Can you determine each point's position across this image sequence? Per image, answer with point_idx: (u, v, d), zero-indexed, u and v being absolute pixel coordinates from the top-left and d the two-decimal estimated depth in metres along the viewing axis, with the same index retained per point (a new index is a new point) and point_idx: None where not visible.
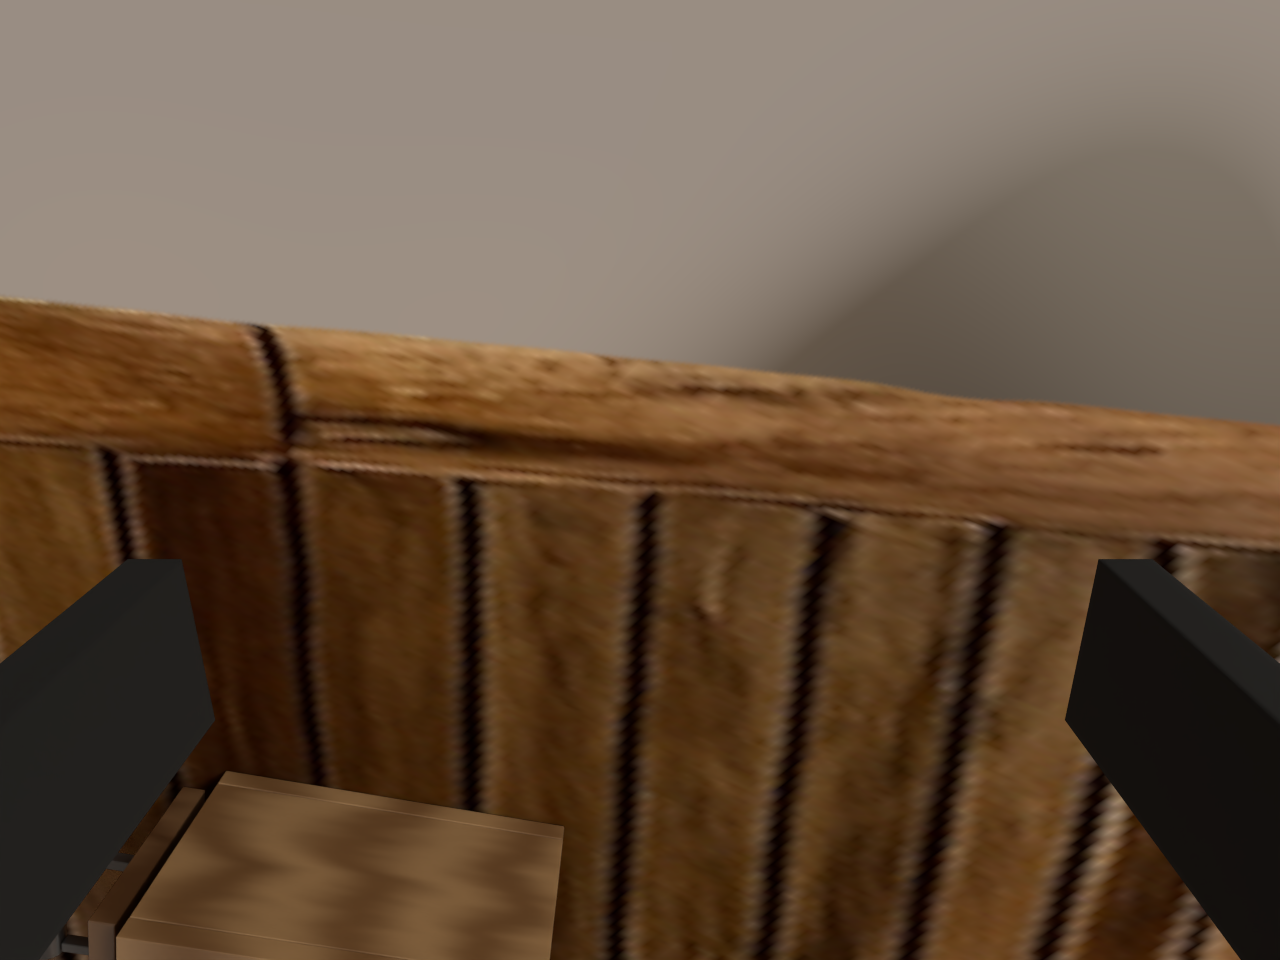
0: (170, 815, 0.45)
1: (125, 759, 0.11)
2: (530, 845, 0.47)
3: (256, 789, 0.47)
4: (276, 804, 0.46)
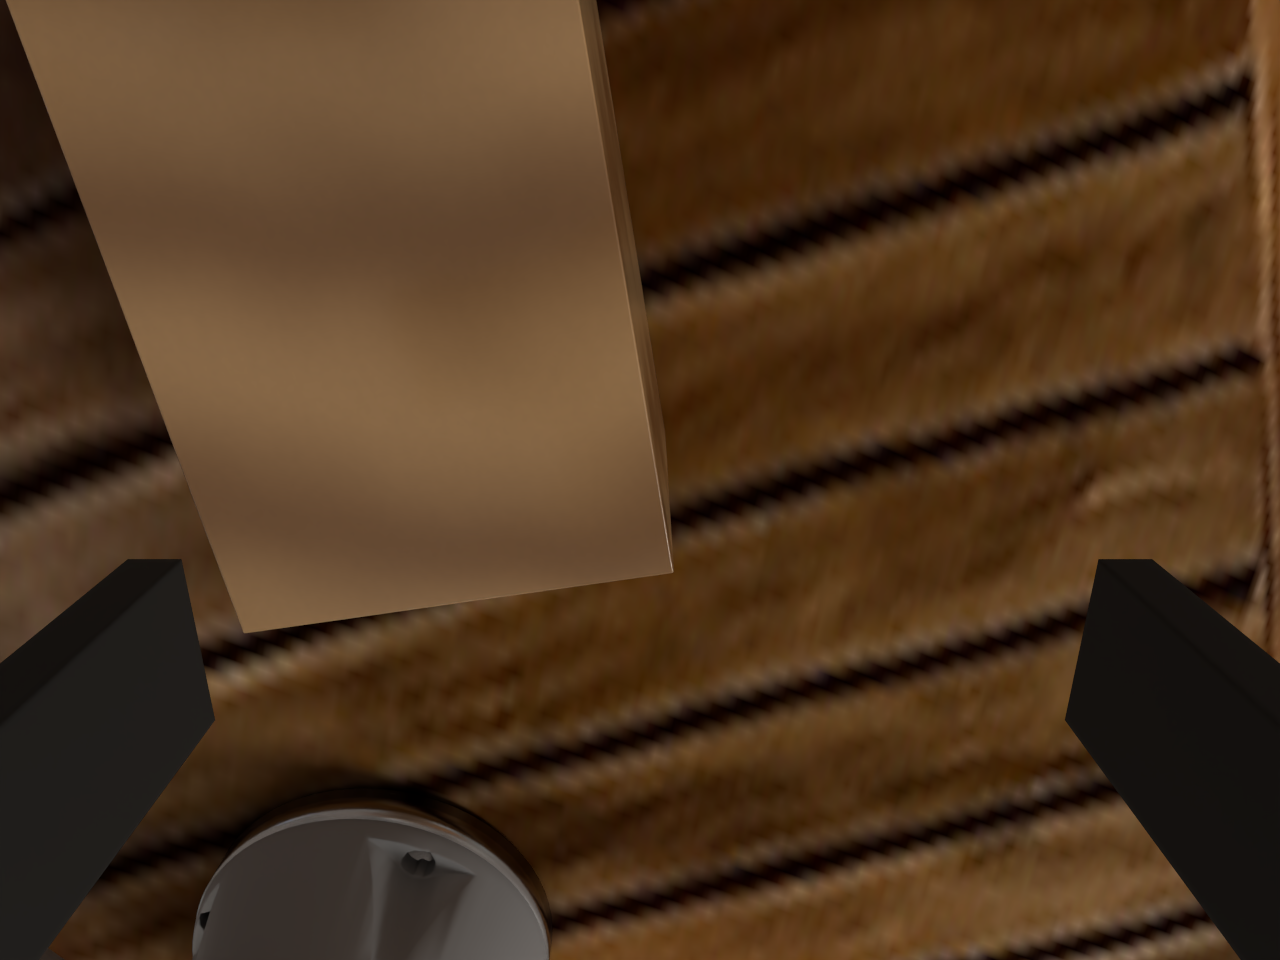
0: None
1: (125, 759, 0.11)
2: (658, 401, 0.29)
3: None
4: None
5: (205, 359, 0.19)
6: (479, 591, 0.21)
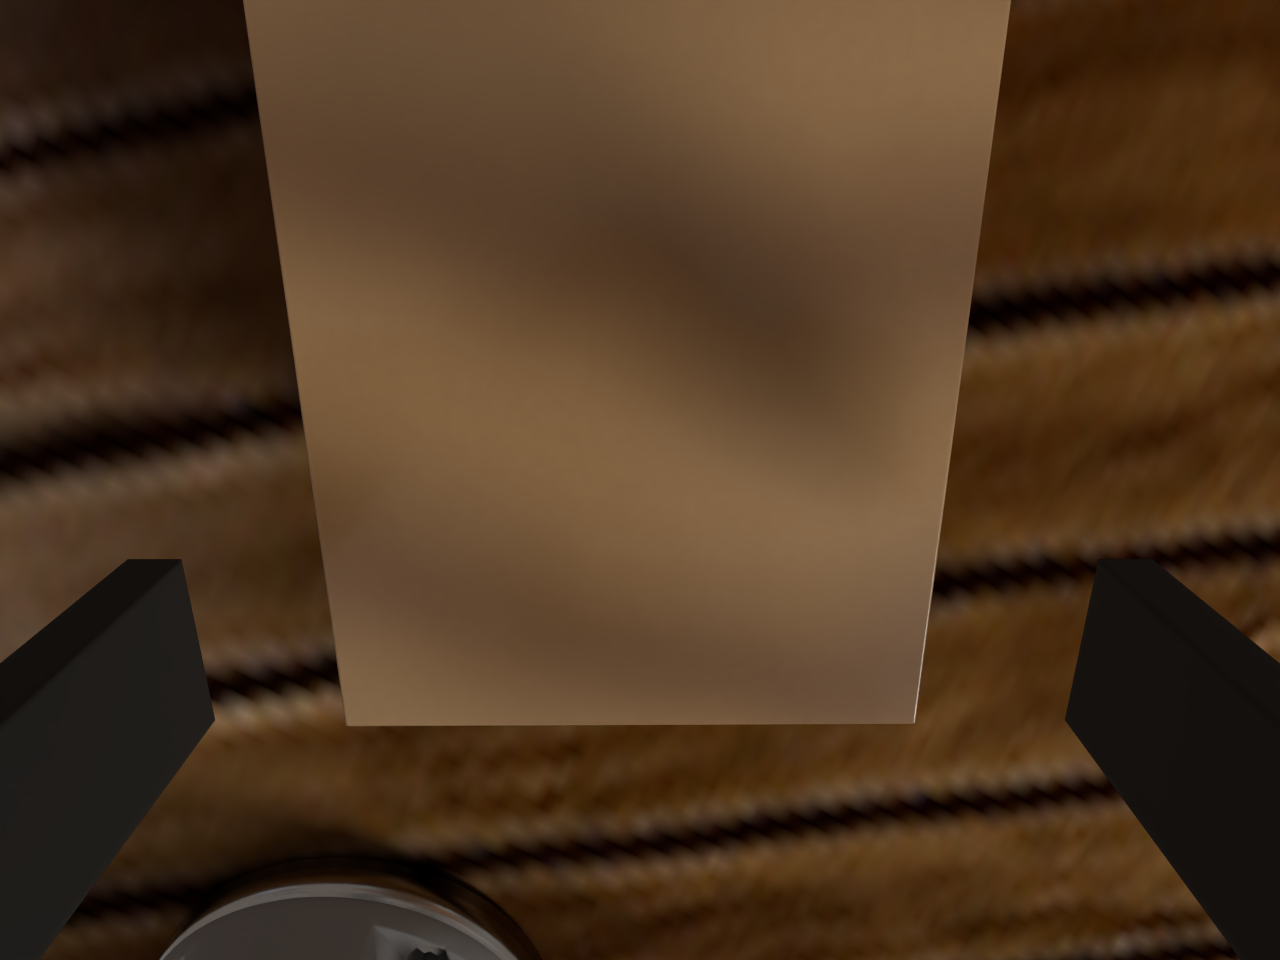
0: None
1: (125, 759, 0.11)
2: None
3: None
4: None
5: (384, 375, 0.14)
6: (666, 714, 0.17)
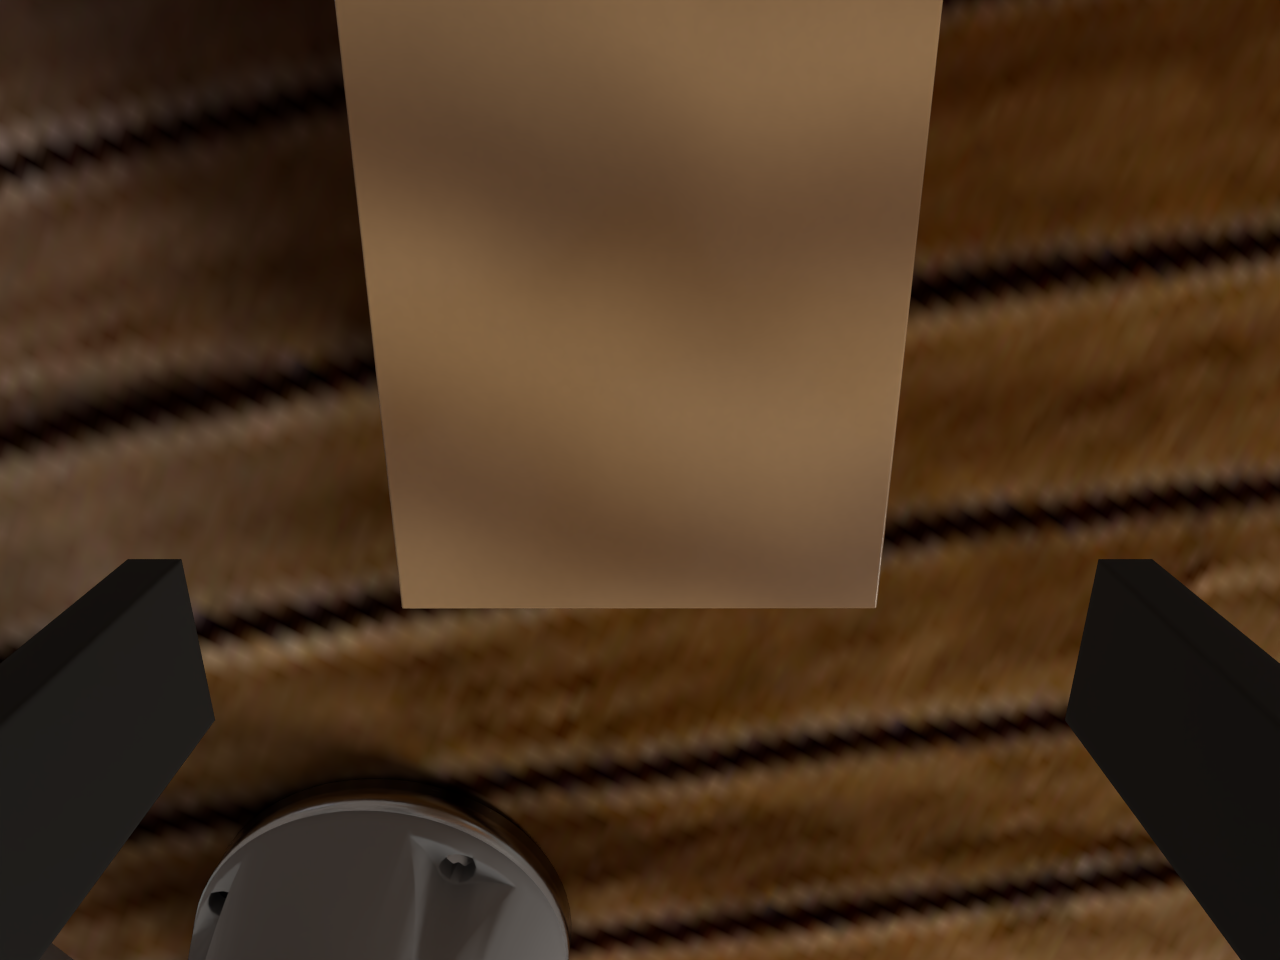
0: None
1: (125, 759, 0.11)
2: None
3: None
4: None
5: (440, 309, 0.18)
6: (668, 598, 0.20)
